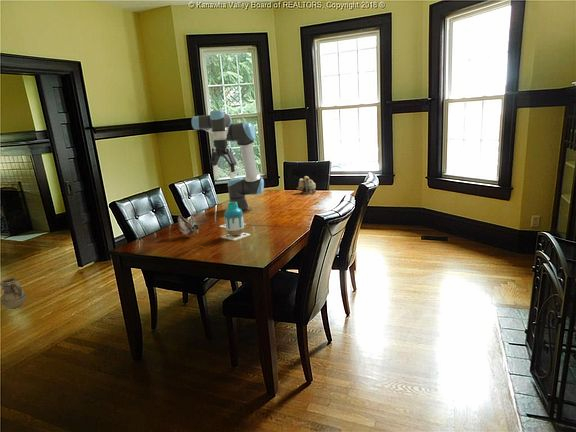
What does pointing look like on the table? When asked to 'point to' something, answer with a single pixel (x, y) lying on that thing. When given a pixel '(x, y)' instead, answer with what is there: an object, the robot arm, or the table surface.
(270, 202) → the table surface
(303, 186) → the owl figurine
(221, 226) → the three dot mat
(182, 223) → the decorative duck model
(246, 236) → the two dot mat
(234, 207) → the vase
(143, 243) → the table surface
